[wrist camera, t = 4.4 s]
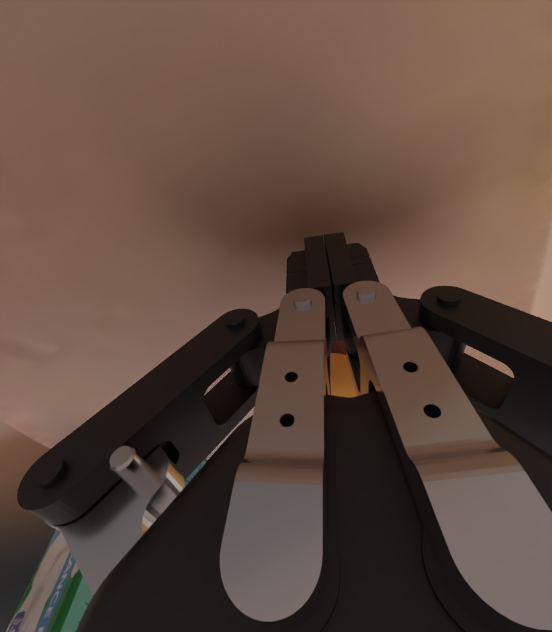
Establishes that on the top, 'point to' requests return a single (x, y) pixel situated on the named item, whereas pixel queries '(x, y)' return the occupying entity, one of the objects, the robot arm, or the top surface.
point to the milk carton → (56, 590)
